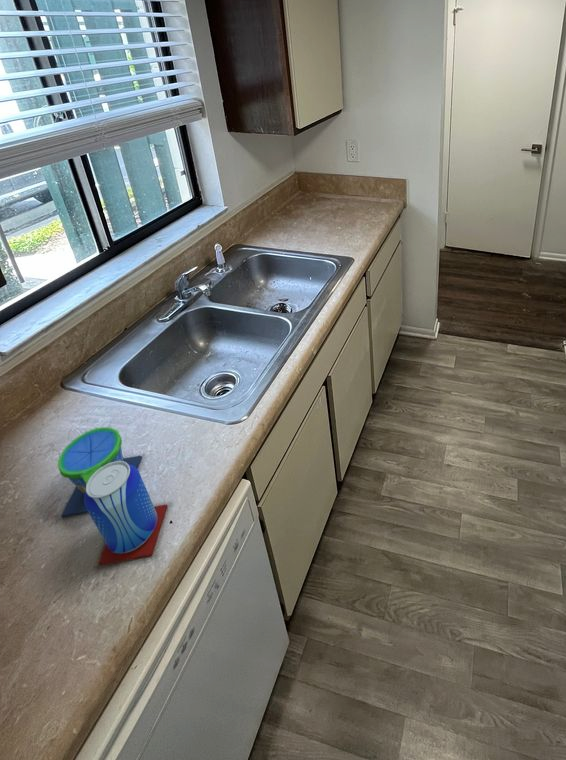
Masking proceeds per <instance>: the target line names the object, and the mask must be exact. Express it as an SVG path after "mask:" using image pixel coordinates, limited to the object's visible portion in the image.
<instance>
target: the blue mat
mask: <svg viewBox="0 0 566 760" xmlns="http://www.w3.org/2000/svg"><path fill="white" fill-rule="evenodd" d="M142 458H143V457H142V455H138V456H129V457H123V461H124V462H126V463H127V464H130V465H133V466H134V467H136V468H137V469H138V470H139V467H140V463H141V461H142ZM84 495H85V494H84V493H82V492H81V490H80V489H78V488H77V487H76V486H75V488H74V490H73V492H72V493H71V495H70V498H69V499H68V502H67V503H66V505H65V507H64V509H63V511H62V513H61V517H62V518H65V517H71V516H77V515H82V514H89V512H88V510H87V509H86V507H85V504H84Z"/></svg>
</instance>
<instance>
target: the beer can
mask: <svg viewBox="0 0 566 760" xmlns="http://www.w3.org/2000/svg"><path fill="white" fill-rule="evenodd" d="M84 504H85V507H86V509H87V510H88V512H89V513H88V514H89V516H90V518H91V520H92V521H93V523H94V525H95V527H96V529H97V531H98V532H99V534H100V536H101V538H102V540H103V542H104V544H105V545H107V547H108V549H109V550H110V551H112V552H114V553H126V552H130V551H133V550H135V549H137V548H138V547H140V546H141V545H142V544H144V543H145V542H146V541H147V540H148V538H149V537H150V535H151V534H152V532H153V530H154V528H155V526H156V523H157V513H156V510H155V508H154V507H155V506H154V503H153V501H152V499H151V496H150V494H149V492H148V490H147V487H146V485H145V483H144V479H143V478H142V475H141V474H140V472H139V468H138V469H137V468H136V467H134V466H133V465H130V464H127V463H126V462H123V461H115V462H111V463H109V464H106V465H104V466H103V467H101V468H100V469H98V470H97V471H96V472H95V473H94V474H93V475H92V476H91V477H90V479H89V480H88V482H87V485H86V492H85V495H84Z"/></svg>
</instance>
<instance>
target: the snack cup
mask: <svg viewBox="0 0 566 760" xmlns="http://www.w3.org/2000/svg"><path fill="white" fill-rule="evenodd" d="M122 443H123V442H122V437H121V434H120V433H119V430H118V429H116V428H113V427H108V426H105V427H94V428H92V429H90V430H87V431H85V432H83V433H82V434H81V435H79V436H77V437H76V438H74V439H73V440H72V441H71V442H70V443H69V444H68V445H67V446H66V447H65V448H64V449H63V450H62V451H61V454H60V455H59V458H58V461H57V467H58V470H59V472H60V473H59V474H60V475H61V477H63V478H67V479H69V481H70V482H72V484H73V485H74V486H75V488H76V487H77V488H78V489H80V490H81V492H82V493H84V494H85V492H86V485H87V482H88V480H89V479H90V477H91V476H92V475H93V474H94V473H95V472H96V471H97V470H98V469H100V468H101V467H103V466H104V465H106V464H109V463H111V462H115V461H123V458H124V456H123V449H122ZM123 462H124V461H123Z"/></svg>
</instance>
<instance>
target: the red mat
mask: <svg viewBox="0 0 566 760" xmlns="http://www.w3.org/2000/svg"><path fill="white" fill-rule="evenodd" d="M154 508H155V510H156V513H157V523H156V526H155V528H154V530H153V532H152V534H151V535H150V537H149V538H148V540H147V541H146V542H145V543H144V544H142V545H141V546H140V547H138V548H137V549H135V550H133V551H130V552H126V553H114V552H112V551H110V550H109V549H108V547H107V545H106V544H105V545H104V548H103V551H102V553H101V555H100V558H99V560H98V563H97V565H98V567H101V566H106V565H110V564H111V565H112V564H116V563H120V562H126V561H131V560H136V559H137V560H138V559H141V558H147V557H153V555H154V551H155V548H156V545H157V543H158V538H159V536H160V532H161V530H162V529H161V528H162V527H163V526H162V525H163V522H164V518H165V517H166V512H167V510H168V504H162V505H156V506H154Z"/></svg>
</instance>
